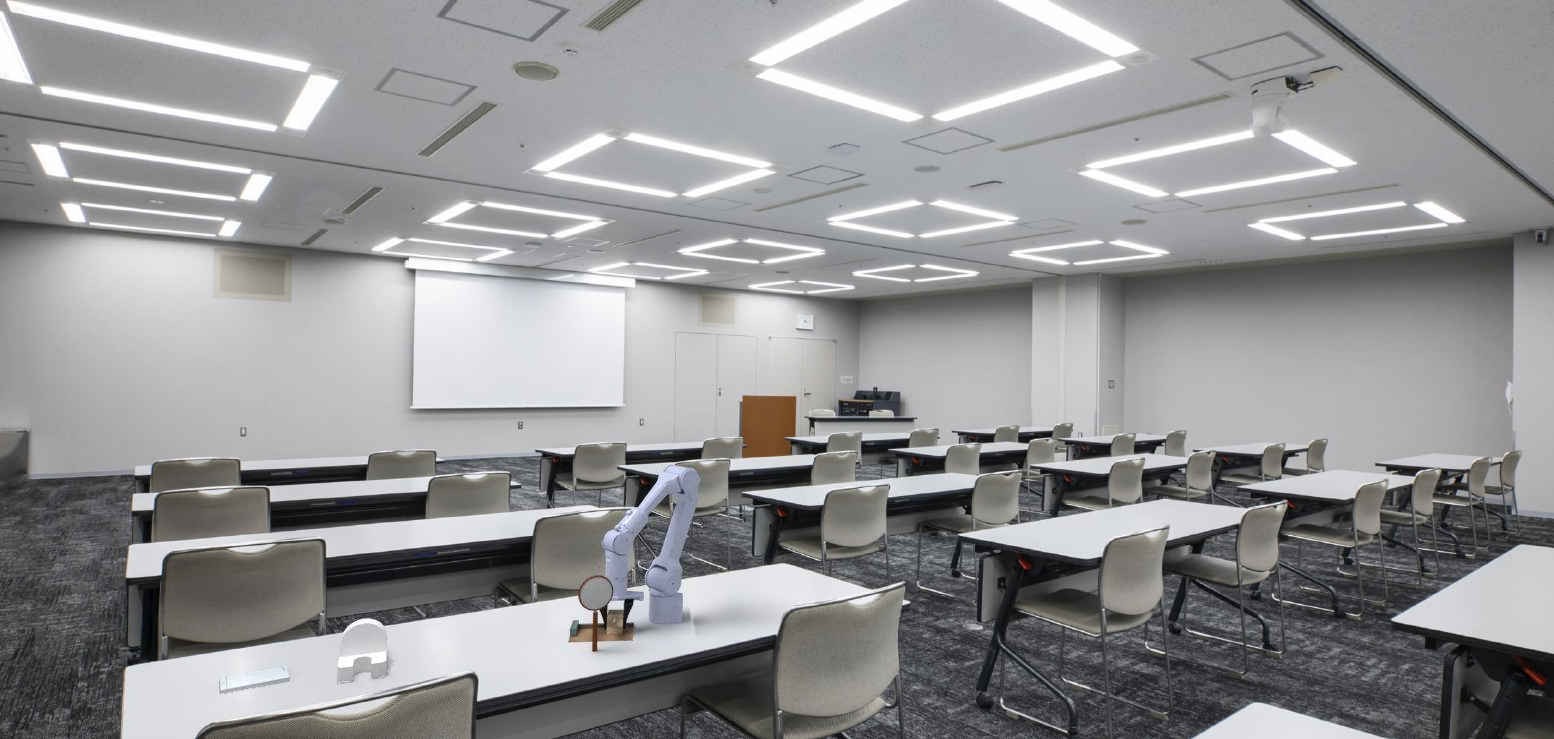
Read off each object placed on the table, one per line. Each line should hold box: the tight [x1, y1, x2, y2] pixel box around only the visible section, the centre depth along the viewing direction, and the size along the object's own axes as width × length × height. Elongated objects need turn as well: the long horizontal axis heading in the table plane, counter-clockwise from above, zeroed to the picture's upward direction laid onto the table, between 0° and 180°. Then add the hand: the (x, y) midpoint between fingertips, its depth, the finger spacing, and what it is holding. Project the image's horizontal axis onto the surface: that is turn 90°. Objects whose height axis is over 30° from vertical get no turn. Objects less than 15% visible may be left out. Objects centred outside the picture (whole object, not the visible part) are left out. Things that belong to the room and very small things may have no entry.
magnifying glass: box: [577, 574, 613, 653], centre depth 188 cm, size 9×2×20 cm, turn 117°
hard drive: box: [219, 665, 290, 694], centre depth 169 cm, size 2×8×12 cm
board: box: [567, 619, 635, 643], centre depth 200 cm, size 16×11×4 cm
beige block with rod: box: [607, 608, 624, 635], centre depth 202 cm, size 4×10×5 cm, turn 9°
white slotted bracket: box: [336, 618, 388, 682], centre depth 179 cm, size 10×18×11 cm, turn 26°
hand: (615, 628), depth 202 cm, fingers closed on beige block with rod, 4 cm apart
